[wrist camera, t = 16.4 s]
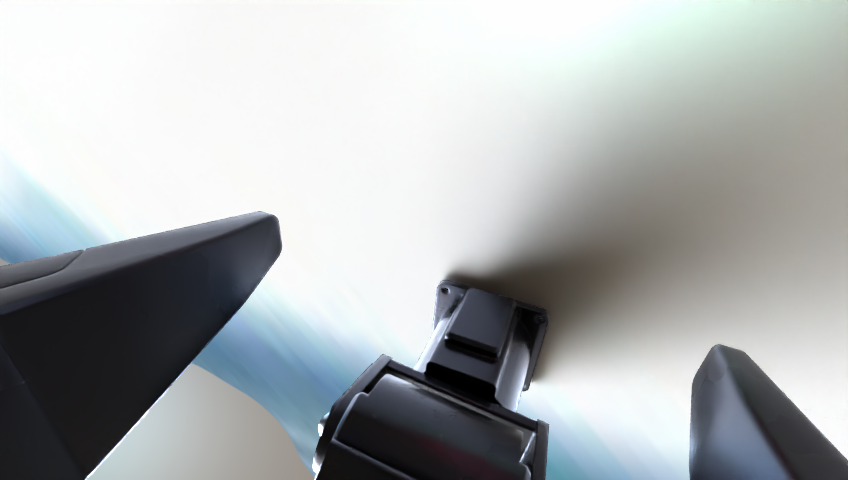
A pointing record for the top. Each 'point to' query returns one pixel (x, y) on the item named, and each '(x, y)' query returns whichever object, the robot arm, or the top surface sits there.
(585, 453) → the top surface
